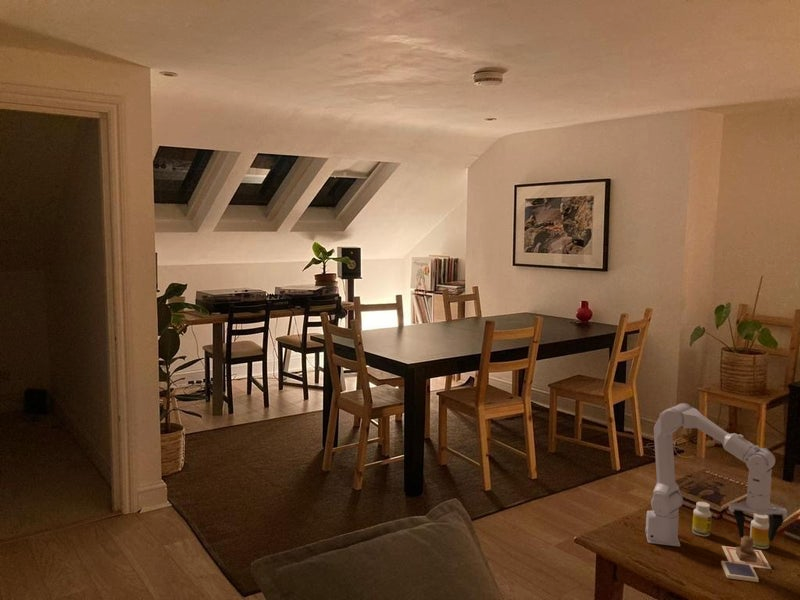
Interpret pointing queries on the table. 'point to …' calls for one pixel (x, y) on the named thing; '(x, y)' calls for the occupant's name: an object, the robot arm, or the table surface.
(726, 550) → the print sheet
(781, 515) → the robot arm
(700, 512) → the supplement bottle
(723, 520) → the table surface
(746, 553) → the stamp
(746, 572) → the ink pad
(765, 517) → the supplement bottle
